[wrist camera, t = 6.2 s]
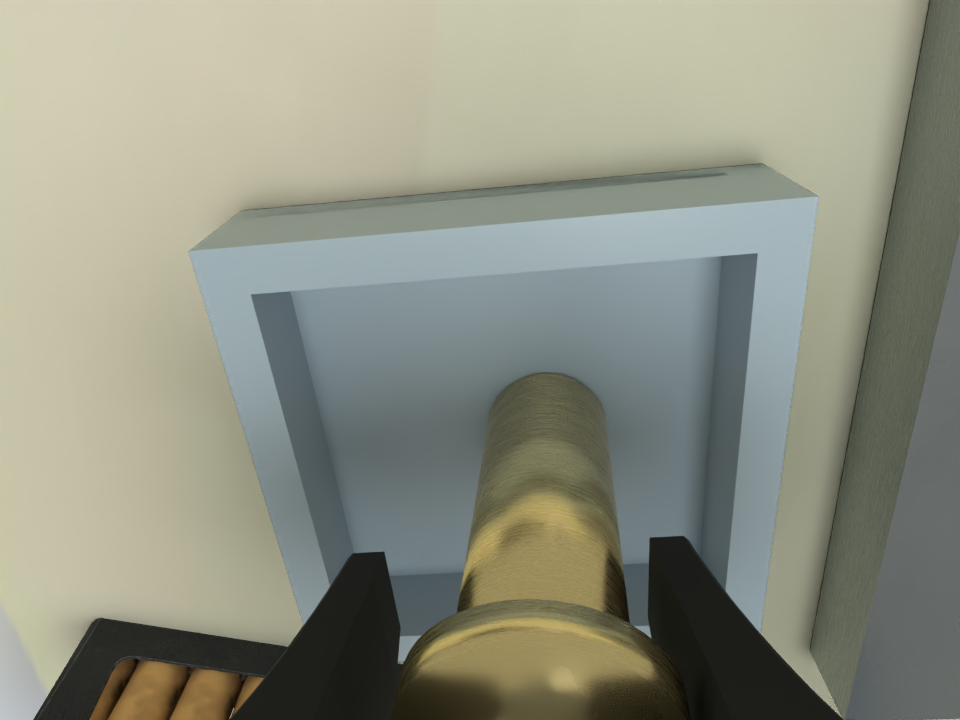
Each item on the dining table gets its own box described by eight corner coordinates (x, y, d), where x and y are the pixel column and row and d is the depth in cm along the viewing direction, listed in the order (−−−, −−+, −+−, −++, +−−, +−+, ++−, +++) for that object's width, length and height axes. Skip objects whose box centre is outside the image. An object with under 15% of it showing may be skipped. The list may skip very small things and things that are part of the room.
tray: (725, 564, 20) (758, 647, 18) (339, 583, 21) (315, 664, 19) (762, 163, 15) (819, 196, 12) (241, 210, 16) (188, 251, 13)
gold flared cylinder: (633, 491, 18) (689, 844, 10) (471, 493, 19) (412, 829, 11) (634, 344, 16) (704, 649, 8) (452, 351, 17) (364, 643, 9)
